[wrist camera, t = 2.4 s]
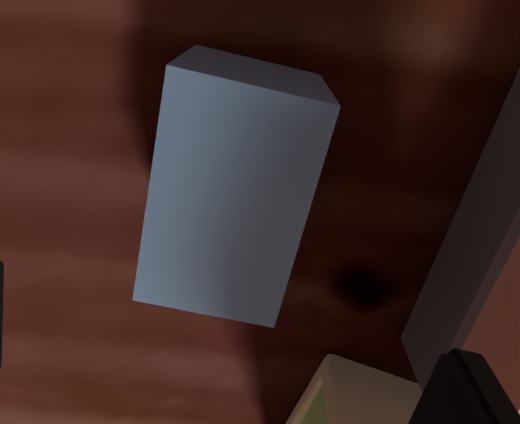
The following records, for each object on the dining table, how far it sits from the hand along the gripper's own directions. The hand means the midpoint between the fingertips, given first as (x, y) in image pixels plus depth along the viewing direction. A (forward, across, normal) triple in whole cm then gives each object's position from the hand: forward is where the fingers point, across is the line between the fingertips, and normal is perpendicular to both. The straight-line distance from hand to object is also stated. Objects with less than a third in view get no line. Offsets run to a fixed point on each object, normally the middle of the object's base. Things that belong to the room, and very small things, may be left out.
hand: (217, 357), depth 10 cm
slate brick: (+12, +1, -1) cm, 12 cm away
